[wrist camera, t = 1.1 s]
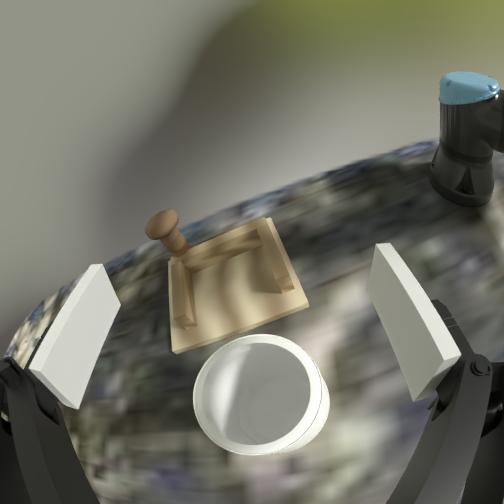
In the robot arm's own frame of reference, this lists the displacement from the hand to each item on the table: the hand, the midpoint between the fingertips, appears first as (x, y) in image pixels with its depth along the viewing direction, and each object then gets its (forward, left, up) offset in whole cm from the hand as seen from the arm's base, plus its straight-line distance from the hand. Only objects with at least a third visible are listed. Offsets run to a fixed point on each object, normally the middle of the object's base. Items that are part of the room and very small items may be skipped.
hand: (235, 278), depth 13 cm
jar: (+3, +2, -26) cm, 26 cm away
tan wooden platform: (+7, -22, -26) cm, 35 cm away
